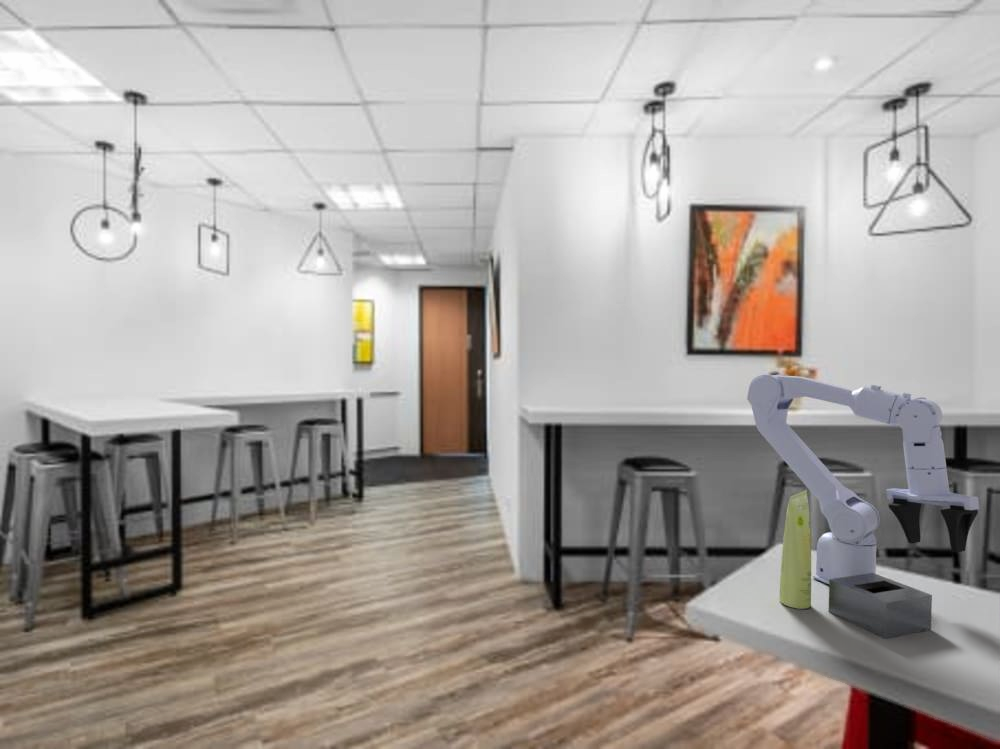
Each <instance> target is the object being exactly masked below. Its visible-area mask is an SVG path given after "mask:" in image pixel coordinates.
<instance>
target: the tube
mask: <svg viewBox="0 0 1000 749" xmlns="http://www.w3.org/2000/svg"><path fill="white" fill-rule="evenodd" d="M810 518H811V517H810V506H809V499H808V491H807V489H805V490H803V491H800V492H798V493H796V494H794V495H791V496H789V500H788V504H787V508H786V515H785V523H784V532H783V533H784V534H783V539H782V550H781V551H782V552H781V565H780V582H779V602H780V603H781V604H782V605H785V606H786V607H790V608H793V609H799V610H802V609H803V610H806V609H808V608H810V607H811V606H812V542H811V541H812V540H811V522H810Z"/></svg>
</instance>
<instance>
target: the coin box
mask: <svg viewBox="0 0 1000 749" xmlns="http://www.w3.org/2000/svg"><path fill="white" fill-rule="evenodd" d="M932 605H933V595H932V594H930V593H928V592H926V591H922V590H919V589H917V588H914V587H911V586H909V585H906V584H903V583H900V582H897V581H895V580H893V579H890V578H887V577H885V576H882V575H879V574H874V573H868V574H862V575H855V576H848V577H841V578H834V579H829V584H828V612H829V613H831V614H833V615H836V616H838V617H840V618H842V619H844V620H846V621H848V622H849V623H850V622H851V623H852V624H854V625H856V626H858V627H860V628H862V629H864V630H867V631H869V632H871V633H873V634H875V635H877V636H879V637H882V638H884V639H889V638H894V637H895V638H896V637H900V636H905V635H910V634H914V633H920V632H925V631H931V630H932V612H933V611H932Z"/></svg>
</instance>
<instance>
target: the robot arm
mask: <svg viewBox="0 0 1000 749" xmlns="http://www.w3.org/2000/svg"><path fill="white" fill-rule="evenodd" d="M881 388H882V387H881V385H876V384H871V385H870V386H865V385H864V386H862V387H860V388H858V389H856V390H854V389H850V388H846V387H842V386H840V385H839V386H838V385H834V384H831V383H828V382H824V381H820V380H817V379H814V378H809V377H804V376H797V375H796V376H795V375H786V374H782V373H781V374H775V375H774V374H773V375H772V374H760V375H757V376H755V377H754V378H753V379H752V380H751V381H750V384H749V387H748V391H747V396H746V400H747V401H748V403H749V404H750V406H751V410H752V414H753V419H754V423H755V426H756V427H755V428H756V429H757V430H758V432H759V434H761V435H762V437H763V438H764V439H765V440H766V442H768V444H769V445H770V446H771V448H773V449H774V450H775V452H776V453H777V454H778V455H779V456H780V458H782V459H783V461H784V462H785V463H786V464H787V466H788V467H789V468H790V469H791V470H792V471H793V473H794V474H795V475H796V476H797V478H799V480H800V481H801V482H802V483H803V484H804V485H805V487H807V489H808V490H809V491H810V492H811V493H812V494H813V496H814V497H815V498H816V499H817V500H818V504H819V508H820V512H821V514H822V515H823V516H824V518H825V519H826V520H827V521H826V522H827V523H828V526H829V529H830V531H831V532H829V531H828V532H826V533H825V532H824V533H823V534H822V535H821V536H820V537H819V539H818V541H817V545H816V564H815V566H816V568H815V571H816V572H815V574H813V575H812V578H813V579H814V580H818V581H820V582H822V583H824V584H827V585H829V579H834V578H841V577H848V576H855V575H862V574H868V573H874V574H876V573H877V572H876V570H877V538H876V537H875V535H874V531H876V530H877V528H878V527H879V525H880V521H881V520H880V518H881V517H880V514H879V511H878V510H877V508H876V507H875V506H874V505H872V503H869V502H867V501H865V500H863V499H861V498H860V497H859V496H858V495H857V494H856V492H854V491H852V490H851V489H850V488H848V487H846V486H844V485H843V484H842V483H841V482H840V481H839V480H838V479H837V477H836V476H835V475H834V474H833V473H832V472H831V471H830V470H829V468H828V467H827V466H826V465H825V464H824V463H823V462H822V461H821V460H820V458H819V457H817V455H816V454H815V453H814V452H813V450H811V449H810V448H809V446H808V445H807V444H806V443H805V442H804V441H803V439H802V438H800V437H799V435H798V434H797V433H796V432H795V431H794V430H793V429H792V428H791V427H790V425H789V424H788V423H787V419H788V413H789V409H790V407H791V405H792V403H793V401H794V399H802V398H805V397H806V398H810V399H816V400H819V401H824V402H829V403H832V404H837V405H840V406H841V405H842V406H847V407H849V408H850V409H851V411H852V413H853V414H854V415H855V416H856V417H857V416H858V417H861V418H864V419H868V420H873V421H875V422H879V423H884V424H887V425H891V426H896V425H898V426H899V428H901V430H902V438H903V441H902V445H903V446H902V448H903V453H904V462H905V471H906V480H907V487H908V488H887V489H886V498H887V499H886V500H888V501H892V503H891V502H890V503H888V505H887V506H888V508H889V509H890V511H891V512H892V513H893V514H894V516H895V517H896V519H897V520H898V522H899V524H900V525H901V528H902V530H903V532H904V535H905V538H906V541H907V542H908V544H918V543H920V542H921V538H922V537H921V535H922V534H921V526H920V517H921V516H920V514H921V508H922V504H923V505H924V504H925V505H933V506H941V507H948V508H944V509H940V514H941V516H942V517H943V519H944V522H945V525H946V528H947V532H948V537H949V545H950V547H951V551H952V552H953V553H961V552H965V551H966V547H967V541H968V535H969V532H970V531H971V530H970V529H971V527H972V525H973V523H974V520H975V519H976V517H977V516H978V514H979V511H978V510H979V509H980V505H979V504H980V503H979V497H978V496H972V495H965V494H959V493H954V492H950V487H949V486H950V485H949V479H948V478H949V476H948V469H947V462H946V455H945V447H944V440H943V439H942V434H943V433H942V430H941V426H939V424H940V423H941V421H942V419H943V412H942V409H941V407H940V406H939V405H938V403H936V402H935V401H932V400H930V399H928V398H926V397H916V398H915V397H914V398H912V394H911V393H908V392H904V393H903V392H902V393H897V392H892V391H888V390H883V389H881Z"/></svg>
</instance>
